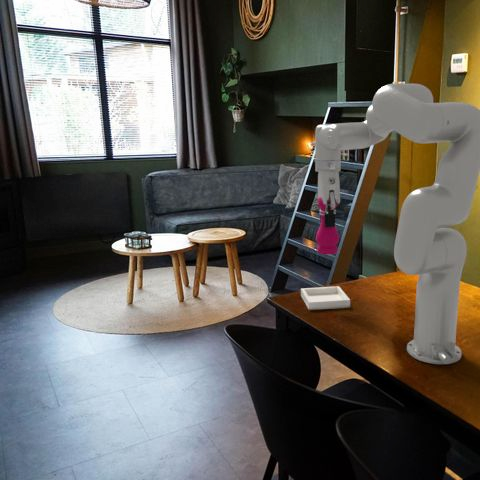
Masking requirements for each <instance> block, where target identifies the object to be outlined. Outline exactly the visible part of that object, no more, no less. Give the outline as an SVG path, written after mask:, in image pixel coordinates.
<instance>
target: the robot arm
mask: <svg viewBox="0 0 480 480" xmlns="http://www.w3.org/2000/svg"><path fill="white" fill-rule="evenodd" d="M366 110H367V111H366V114H365V119H366V120H365V121H361V122H342V123H340V122H339V123H322V124H318V125H317V126H316V127H315V132H314V133H315V134H314V135H315V138H314V140H315V145H314V147H315V154H314V155H315V159H314V160H315V161H314V162H315V167H314V168H315V169H314V170H315V172H318V174H317V200H318V199H319V197H321V199H322V202H323V204H325V213H326V214H324V226H325V227H336V214H335V213H336V211H335V210H336V208H335V206H336V205H335V202H336V204H337V205H340V203H341V191H340V190H341V187H340V186H341V185H340V184H341V183H340V173H339V172H341V169H342V168H341V167H342V166H341V165H342V164H341V161H342V160H341V158H342V157H341V155H342V152H341V151H349V150H361V149H362V150H363V149H366V148H370V147H371V146H374V145H376V144H378V143H381V142H382V141H383V142H384V141H385V140H386V139H387V138H388V137H389V134H390V133H392V132H396V133H397V134H399V135H400V136H402V137H404V138H405V139H407V140H409V141H410V142H413V143H417V144H421V145H422V144H436V143H445V142H448V143H449V146H448V148H447V149H446V150H445V152H444V153H443V155H442V156H441V159H440V160H439V162H438V163H439V164H438V167H437V172H436V176H435V180H434V181H433V184H432V185H430V186H425V187H420V188H417V189H415V190H413V191H411V192H410V193H409V194H408V195H407V196H406V198H405V199H404V201H403V203H402V206H401V208H400V214H399V219H398V225H397V231H396V234H395V241H394V247H393V257H394V261H395V264H396V266H397V267H398V269H399V271H401V272H403V273H404V274H406V275H410V276H417V277H418V278H417V283H416V294H415V309H414V310H415V311H414V331H413V339H412V340H410V341H409V342H408V343H407V345H406V351H407V353H408V355H410V356H411V357H412V358H413V359H416V360H418V361H420V362H424V363H427V364H432V365H450V364H451V365H452V364H454V363H457V362H459V361H460V360H461V359H462V350H461V348H460V347H459V346H457V345H456V339H457V338H456V336H457V335H456V334H457V325H458V324H457V323H458V310H459V309H458V308H459V299H460V297H459V296H460V287H461V286H460V285H461V279H462V275H463V274H462V273H463V268H464V265H465V262H466V258H467V252H468V247H467V243H466V239H465V238H464V237H465V236H463V235H462V234H461V233H460V231H457V230H456V229H453V228H449V227H451V226H456V225H459V224H462V223H464V222H465V221H466V220H467V219H468V217H469V215H470V212H471V209H472V205H473V201H474V196H475V192H476V188H477V184H478V181H479V175H480V108H478V107H476V106H475V105H473V104H470V103H467V102H459V101H454V102H453V101H447V102H446V101H445V102H434V96H433V94H432V91H431V90H430V89H429V88H428V87H426V86H425V85H423V84H420V83H390V84H389V83H388V84H386V85H384V86H381V88H379V89H378V90H377V91H376V92H375V94H374V96H373V99H372V101H371V105H369V106H368V108H367V109H366ZM334 198H335V199H334ZM335 200H336V201H335ZM327 202H330V204H327ZM328 206H329V207H328ZM336 207H337V206H336ZM320 209H321V208H320V207H319V210H320ZM319 222H320V224H321V215H320V214H319Z"/></svg>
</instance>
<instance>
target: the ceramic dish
mask: <svg viewBox="0 0 480 480" xmlns="http://www.w3.org/2000/svg"><path fill="white" fill-rule="evenodd" d="M300 296H301V299H302V300H303V302H304V303H305V305H306V306H305V307H307V309H308V311H316V310H319V311H320V310H329V309H330V310H334V309H345V308H346V309H348V308H349V309H350V308H351V299H350V298H349V297H348V295H347V294H346V293H345V291H343V290H342V288H341V287H340V286H339V285H337V286H322V287H321V286H320V287H306V288H300Z"/></svg>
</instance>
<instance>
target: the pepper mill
mask: <svg viewBox="0 0 480 480" xmlns="http://www.w3.org/2000/svg"><path fill="white" fill-rule="evenodd" d="M334 199H335V198H334ZM335 201H336V200H335ZM327 204H330V202H327ZM317 205H318V207H319V213H318V214H319V216H320V215H321V223H320V225H319V228H318V230H317V232H316V235H315V242H316V243H317V244H318V245H317V247H316V250H317V251H316V252H317V253H318V254H321V255H334V254H337V253H338V250H339V249H338V246H337V244H338V243H339V241H340V235H339V232H338V229H337V227H336V226H335V227H325V226H324V214H326V213H325V204H323V202H322V199H321V197H319V199H318V198H317ZM335 205H336V206H335V215H336V214H337V213H336V212H337V210H336V207H337V206H338V204H336V202H335ZM328 207H329V206H328ZM320 208H321V209H320Z"/></svg>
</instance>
